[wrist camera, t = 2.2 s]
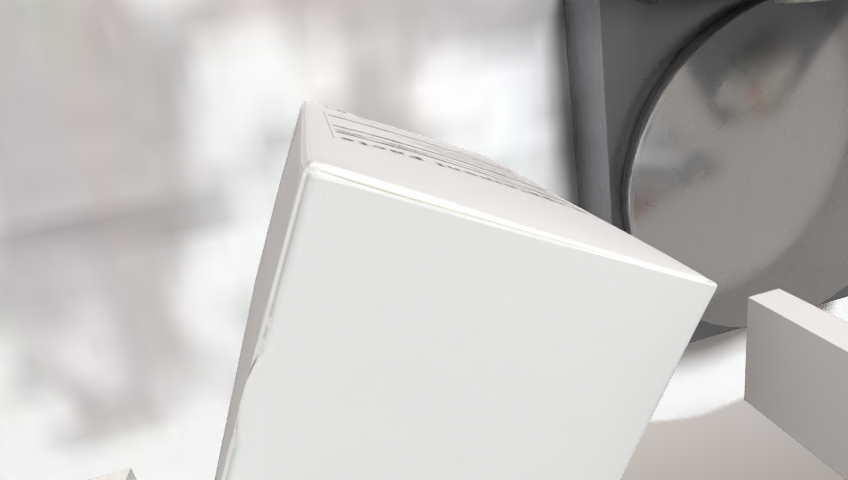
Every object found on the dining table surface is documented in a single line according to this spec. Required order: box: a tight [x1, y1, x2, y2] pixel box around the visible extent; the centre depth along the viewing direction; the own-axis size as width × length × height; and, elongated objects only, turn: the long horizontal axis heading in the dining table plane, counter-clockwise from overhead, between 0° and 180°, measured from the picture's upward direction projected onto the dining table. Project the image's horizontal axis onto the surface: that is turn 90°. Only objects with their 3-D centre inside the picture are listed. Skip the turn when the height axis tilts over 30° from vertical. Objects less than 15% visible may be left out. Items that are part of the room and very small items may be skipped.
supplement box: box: [215, 101, 717, 480], centre depth 18 cm, size 9×9×15 cm
